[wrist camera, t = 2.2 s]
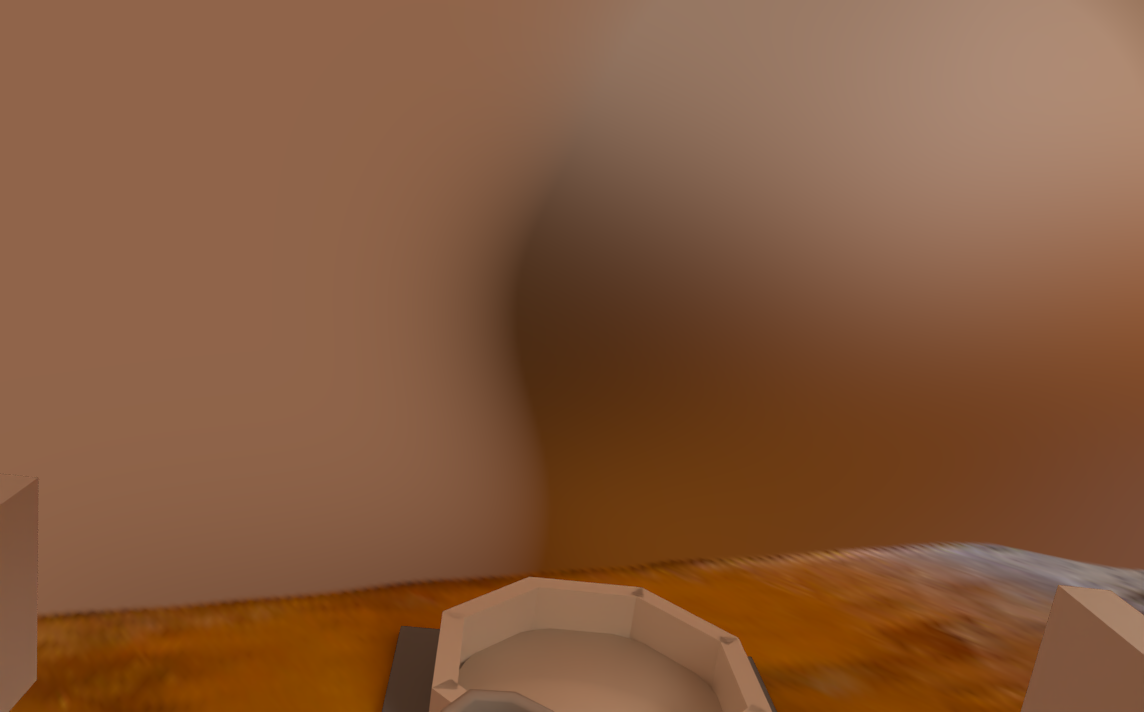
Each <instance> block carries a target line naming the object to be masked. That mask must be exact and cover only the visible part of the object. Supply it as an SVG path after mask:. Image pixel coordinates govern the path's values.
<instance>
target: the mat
mask: <svg viewBox="0 0 1144 712" xmlns="http://www.w3.org/2000/svg"><path fill="white" fill-rule="evenodd" d="M439 634H440V629H431V628H420V627H408V626H401V628H400V633H399V637H398V642H397V646H396V651H395V655H394V660H393V664H392V669H391V673H390V678H389V682H388V687H387V691H386V696H385V700H384V705H383V709H382V712H429V707H430V698H431V690H432V683H433V676H434V669H435V662H436V655H437V648H438V641H439ZM748 660H749V662H750V664H751V666H752V668H753V671H754V673H755V675H756V677H757V679H758V682H759V684H760V686H761V688H762V690H763V693H764V695H765V697H766V699H767V701H768V704H769V706H770V708H771V710H772V712H777V711H776V709H775V707H774V705H773V702H772V700H771V698H770V696H769V694H768V692H767V689H766V687H765V685H764V683H763V681H762V679H761V676H760V674H759V672H758V670H757V668H756V666H755V663H754V661H753V659H752V657H748Z"/></svg>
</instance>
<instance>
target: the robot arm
mask: <svg viewBox="0 0 1144 712" xmlns="http://www.w3.org/2000/svg"><path fill="white" fill-rule="evenodd" d="M37 574H38V477H29V476H19V475H10V474H0V712H9V711H10V710H11V709H12V708H13V706H14V705H15V704H16V703H17V702H18V701H19V700H20V698H21V697H22V696H23V695H24V694H25V693H26V692H27V690H28V689H29V688H30V687H31V686H32V685H33V684H34V682H35V681H36V680H37V582H38V581H37V580H38V577H37V576H38V575H37ZM1021 712H1144V615H1143V614H1141V613H1140V612H1139V611H1137V610H1136V609H1135V608H1133V607H1132V606H1131V605H1129V604H1128V603H1127V602H1125V601H1124V600H1123V599H1121V598H1120V597H1119V596H1117V595H1116V594H1115V593H1113V592H1112V591H1110V590H1101V589H1091V588H1082V587H1072V586H1063V585H1058V588H1057V591H1056V594H1055V598H1054V601H1053V604H1052V608H1051V611H1050V615H1049V618H1048V621H1047V625H1046V628H1045V632H1044V635H1043V638H1042V642H1041V645H1040V648H1039V652H1038V655H1037V659H1036V662H1035V665H1034V669H1033V672H1032V676H1031V679H1030V682H1029V686H1028V689H1027V692H1026V696H1025V699H1024V703H1023V706H1022V709H1021Z"/></svg>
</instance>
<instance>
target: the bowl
mask: <svg viewBox="0 0 1144 712" xmlns="http://www.w3.org/2000/svg"><path fill="white" fill-rule="evenodd" d="M469 689H480V690H496V691H512V692H517V693H519V694H521V695H523V696H525V697H527V698H529V699H531V700H533V701H535V702H537V703H539V704H541V705H543V706H545V707H547V708H549V709H551V710H553V711H554V712H772V710H771V708H770V706H769V704H768V701H767V699H766V697H765V695H764V693H763V690H762V688H761V686H760V684H759V682H758V679H757V677H756V675H755V673H754V671H753V668H752V666H751V664H750V662H749V660H748V657H747V655H746V653H745V651H744V649H743V646H742V644H741V642H740V640H739V638H737V637H736V636H734V635H732V634H730V633H728V632H726V631H724V630H722V629H720V628H718V627H716V626H715V625H713V624H711V623H709V622H707V621H705V620H703V619H701V618H699V617H697V616H695V615H693V614H692V613H690V612H688V611H686V610H684V609H682V608H680V607H678V606H676V605H674V604H672V603H671V602H669V601H667V600H665V599H663V598H661V597H659V596H657V595H655V594H653V593H651V592H649V591H648V590H646V589H644V588H642V587H632V586H621V585H611V584H600V583H590V582H579V581H569V580H558V579H548V578H537V577H528V578H525V579H523V580H520V581H518V582H515V583H513V584H510V585H508V586H505V587H503V588H500V589H498V590H495V591H492V592H490V593H487V594H485V595H482V596H480V597H477V598H475V599H472V600H470V601H467V602H465V603H462V604H460V605H457V606H455V607H452V608H450V609H447V610H445V611H443V612H442V620H441V627H440V634H439V641H438V648H437V655H436V662H435V669H434V676H433V683H432V690H431V698H430V707H429V712H440V711H441V710H442V709H443V708H445V707H446V706H447V705H449V704H450V703H451V702H453V701H454V700H456V699H457V698H458V697H460V696H461V695H462V694H464V693H465V692H466V691H468V690H469Z"/></svg>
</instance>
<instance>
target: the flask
mask: <svg viewBox="0 0 1144 712" xmlns="http://www.w3.org/2000/svg"><path fill="white" fill-rule="evenodd" d="M440 712H554V711H553V710H551V709H549V708H547V707H545V706H543V705H541V704H539V703H537V702H535V701H533V700H531V699H529V698H527V697H525V696H523V695H521V694H519V693H517V692H512V691H496V690H480V689H469V690H468V691H466V692H465V693H464V694H462V695H461V696H460V697H458V698H457V699H456V700H454V701H453V702H451V703H450V704H449V705H447V706H446V707H445V708H443V709H442V710H441V711H440Z"/></svg>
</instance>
